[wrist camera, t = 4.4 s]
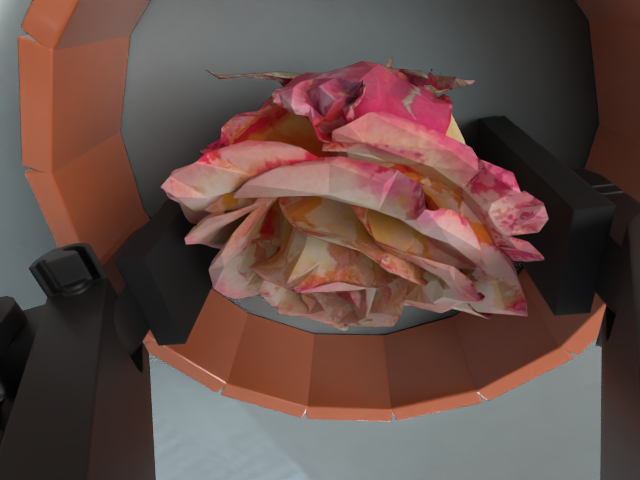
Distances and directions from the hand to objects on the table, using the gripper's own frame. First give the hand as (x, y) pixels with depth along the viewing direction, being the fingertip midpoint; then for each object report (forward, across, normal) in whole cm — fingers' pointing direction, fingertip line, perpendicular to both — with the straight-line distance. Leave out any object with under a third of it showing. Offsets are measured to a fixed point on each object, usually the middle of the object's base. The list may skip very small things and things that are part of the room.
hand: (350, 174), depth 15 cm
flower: (0, 0, 0) cm, 0 cm away
